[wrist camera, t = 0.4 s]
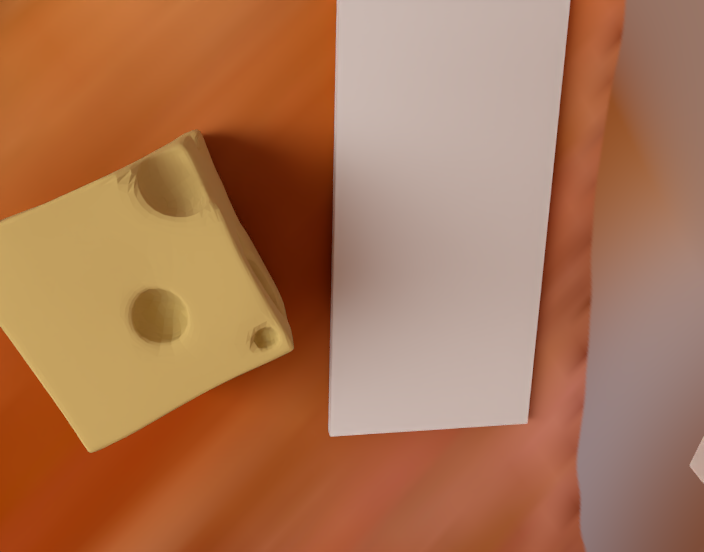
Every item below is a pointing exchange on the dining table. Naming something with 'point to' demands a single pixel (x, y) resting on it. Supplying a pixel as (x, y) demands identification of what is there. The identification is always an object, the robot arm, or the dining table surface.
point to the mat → (440, 209)
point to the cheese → (138, 293)
